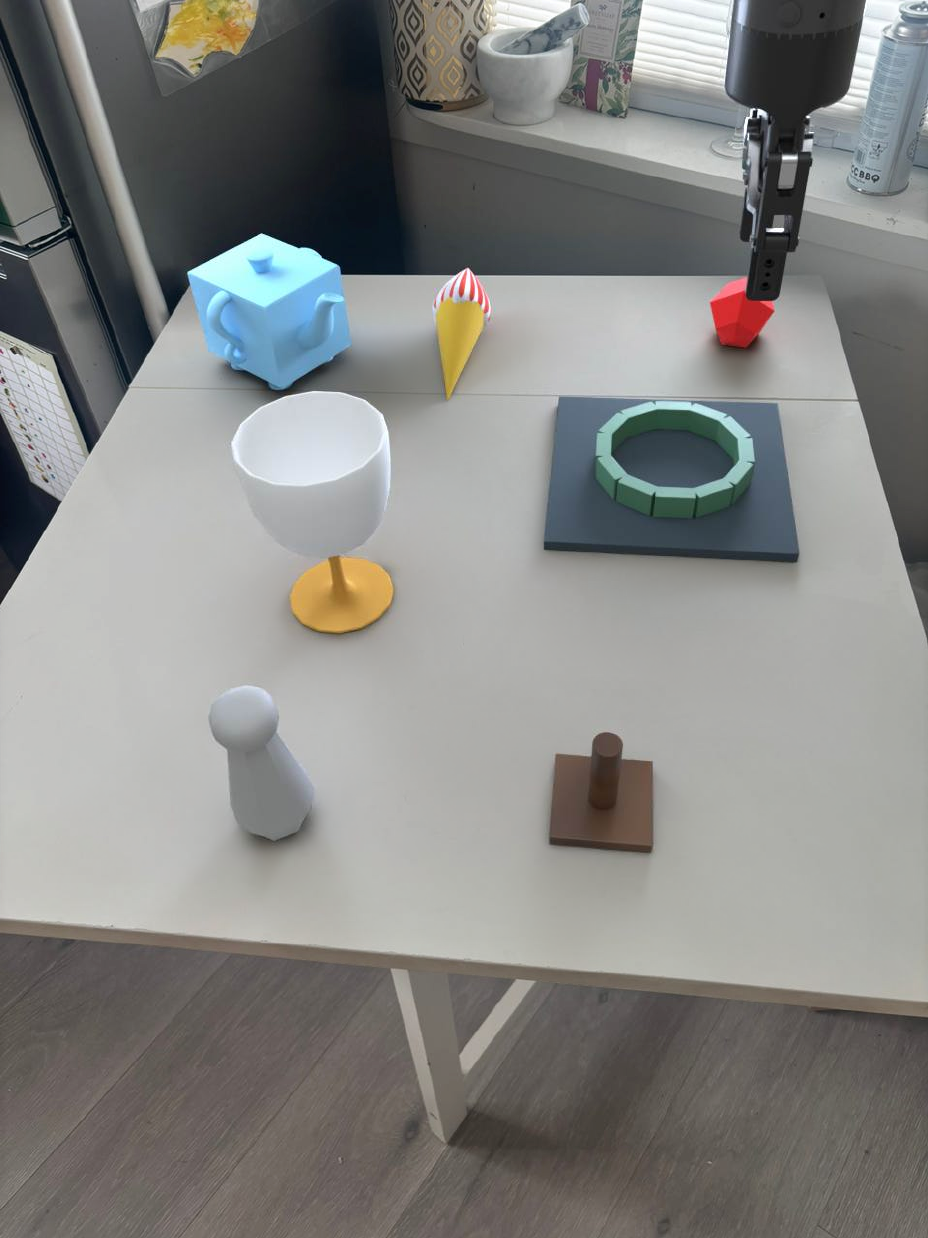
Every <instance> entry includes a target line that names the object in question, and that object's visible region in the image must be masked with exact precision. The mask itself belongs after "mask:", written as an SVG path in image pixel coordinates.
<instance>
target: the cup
mask: <svg viewBox="0 0 928 1238" xmlns="http://www.w3.org/2000/svg"><path fill="white" fill-rule="evenodd" d="M230 445H231V454H232V460H233V464H234V467H235V471H236V473H237V476H238V479H239V482H240V485H241V489H242V490H243V493H244V495H245V497H246V499H247V502H248V503H249V506H250V508H251V511H252V512H253V515H254V517H256V519H257V520H258V521H257V522H259V523H260V525H261V526H262V528H263V530H265V532H266V533H267V534H268V535H269V536H270V537H271V538H272V539H273V540H274V541H275V542H276V543H277V544H279V545H280V546H282V547H283V548H285V549H286V550H288V551H290V552H292V553H295V554H297V555H300V556H302V557H305V558H321V559H328V560H324V561H322V562H319V563H318V564H316V565H315V566H312V567H311V568H308V569H307V570H305V572H303V574H302V575H300V576H299V578H298V579H297V580H296V581H295V582H294V584H293V587H292V590H291V593H290V595H289V603H290V608H291V612H292V614H293V615H294V617H296V619H297V620H298V621H299V622H300V623H301V624H302V625H303V626H305V627H307V628H309V629H312V630H314V631H316V632H319V633H327V634H344V633H349V632H353V631H358V630H362V629H364V628H365V627H368V626H369V625H370V624H373V623H374V622H376V621H377V620H379V619H380V618H381V617H382V615H383V614H384V613H385V612H387V610H388V609H389V607H390V606H391V603H392V600H393V596H394V592H395V589H394V586H393V581H392V579H391V576H390V574H389V573H388V572H387V571H386V570H384V569H383V567H382V566H380V564H378V563H375V562H372V561H370V560H367V559H364V558H357V557H341V556H342V555H346V554H347V553H349V552H351V551H353V550H355V549H357V548H359V547H361V546H362V545H364V544H365V542H366V541H367V540H368V539H369V538H370V537H371V536H372V535H373V534H374V533H375V531H376V530H377V529H378V527H379V526H380V524H382V522H383V518H384V514H385V511H386V509H387V504H388V499H389V495H390V491H391V465H392V464H391V463H392V462H391V460H392V459H391V448H390V434H389V429H388V427H387V424H386V421H385V418H384V415H383V413H381V412H380V411H379V410H378V409H377V408H376V407H375V406H373V405H372V404H370V402H368V401H367V400H365V399H364V398H361V397H357V396H354V395H351V394H348V393H345V392H341V391H323V390H322V391H319V390H313V391H306V392H300V393H296V394H291V395H285V396H283V397H281V398H278V399H276V400H274V401H271V402H269V403H267V404H265V405H262V406H260V407H258V408H257V409H256V410H255V411H254V412H253V413H251V414H250V415H249V416H248V417H246V418H245V419H244V420H243V421H242V422H241V423H240V425H239V426H238V428H237V430H236V432H235V434H234V437H233V439H231V442H230Z"/></svg>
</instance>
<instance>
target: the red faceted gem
mask: <svg viewBox="0 0 928 1238" xmlns="http://www.w3.org/2000/svg"><path fill="white" fill-rule="evenodd" d="M746 281H747V276H746V277H743V278H740V279H737V280H734V281H731V282H729V283H727V284H726V285H724V287H723V288H721V290H720V291H719V292H718V293H717V294H716V295H715V296H714V297H713V298H712V299H711V300H710V301H709V304H710V310H711V313H712V319H713V324H714V328H715V331H716V333H717V336H718V339H719V341H720V344H721V345H722V346H723V345H724V346H729V347H736V348H742V349H743V348H744V349H747V348H748V346H749V345H751V343H752V342H753V341H754V339H756V337H757V336H758V335H759V334H760V333H761V331H762V330H763V328H764V327H765V326H766V324H767V323H768V321H769V320H770V319H771V317H772V316H773V314H774V313H775V308H774V303H773V301H750V300H748V299H747V298H746V293H745V288H746Z"/></svg>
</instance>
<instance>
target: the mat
mask: <svg viewBox="0 0 928 1238" xmlns="http://www.w3.org/2000/svg"><path fill="white" fill-rule="evenodd" d="M655 401H668V402H691V407H692V406H693V404H694V403H696V404H699V405H702V406H705V407H708V408H710V409H713V410H716V411H719V412H721V413H724V414H727V417H729V416H731V417H732V418H733V419H734V420H735V421H736V422H737V423H738V424H739V425H740V426H741V427H742V428H743V429H744V430H745V431H746V432H747V433H748V434H749V435H750V436H751V438H752V440H753V449H754V458H755V464H754V469H753V474H752V478H751V482H750V485H749V486H748V487H747V488H746V489H745V491H744V492H743V493H742V494H741V495H740V496H739V498H738V499H737V500H736V501H735V502H734V504H733V505H731V504H730V506H729V507H727V508H724V509H721V510H719V511H716V512H713V513H710V514H707V515H704V516H701V517H698V518H696V517H695V516H694V515H693V518H692V519H690V518H668V517H653V512H652V513H651V514H650V515H649V516H648V515H646V514H644V513H641V512H639V511H637V510H634V509H632V508H630V507H627V506H625V505H623V504H620V503H618V502H616V499H612V497H611V496H610V495H609V494H608V493H607V491H606V490H605V489H604V488H603V486H602V485H601V484H600V483H599V482H598V480H597V479H596V476H595V458H596V441H597V433H598V431H599V430H600V429H601V428H602V427H603V426H604V425H605V424H606V423H607V422H608V421H609V420H610V419H611V418H612V417H613V416H614V415H615V414H616V413H620V411H622V410H625V409H628V408H632V407H635V406H638V405H642V404H645V403H648V402H652V403H653V404H654V405H655ZM779 409H780V408H779V404H778V402H776V403H775V402H749V401H719V400H718V401H717V400H716V401H715V400H683V399H659V398H658V399H657V398H656V399H654V398H621V397H590V396H563V395H562V396H558V401H557V412H556V420H555V421H556V422H555V429H554V430H555V431H554V432H555V433H554V441H553V451H552V459H551V469H550V478H549V488H548V498H547V505H546V506H547V507H546V517H545V525H544V536H543V550H547V551H570V552H587V553H588V552H589V553H591V552H592V553H608V554H630V555H647V556H648V555H650V556H668V557H669V556H670V557H690V558H708V559H709V558H710V559H727V560H729V559H730V560H748V561H768V562H769V561H771V562H786V563H787V562H788V563H798V560H799V557H800V549H799V543H798V542H799V541H798V535H797V528H796V521H795V513H794V507H793V499H792V493H791V486H790V480H789V474H788V473H789V472H788V466H787V459H786V458H787V457H786V451H785V445H784V444H785V443H784V438H783V429H782V424H781V417H780V410H779ZM611 456H612V457H613V459H614V460H615V461H616V462H617V463H618V464H619V466H620V467H621V468H622V469H623V470H624V471H625V473H626V474H627V475H630V476H632V477H635V478H637V479H640V480H642V481H644V482H647V483H649V484H652V485H654V486H657V487H674V488H696V487H699V486H702V485H705V484H708V483H711V482H714V481H717V480H720V479H723V478H724V477H725V476H726V475H727V474H728V473H729V472H730V470H731V469H732V468H733V467H734V459H733V458H732V457H731V456H730V455H729V454H728V453H727V452H726V451H725V450H724V449H723V448H722V447H721V446H720V445H719V444H718V443H717V442H716V441H714V440H712V439H709V438H706V437H704V436H701V435H698V434H696V433H693V432H690V431H688V430H668V429H654V430H650V431H647V432H644V433H641V434H638V435H634V436H631V437H628V438H626V439H625V440H624V441H623V442H622V443H621V444H620V445H619V446H618V447H617V448H616V449H615V450H614V451H613V452H612V453H611Z"/></svg>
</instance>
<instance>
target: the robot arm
mask: <svg viewBox="0 0 928 1238" xmlns="http://www.w3.org/2000/svg"><path fill="white" fill-rule="evenodd" d="M867 4H868V0H733V1H732V8H731V9H732V10H731V17H730V26H729V33H728V34H729V36H728V44H727V52H726V61H725V69H724V78H723V79H724V80H723V89H724V92H725V94H726V96H728V98H729V99H730V100H731V101H732V102H734V103H736V104H738V105H739V106H741V107H743V108H746V109H749V110H750V113H749V117H746V119H745V123H744V127H743V128H744V129H743V130H744V132H743V148H742V155H741V157H742V160H741V169H742V170H744V172H743V173H742V181H743V185H744V186H745V187H744V188H745V189H744V195H743V201H742V209H741V217H740V223H739V232H738V233H739V239H740V240H741V241H742V242H744V243H750V245H751V246H750V255H749V262H748V268H747V275H746V277H747V281H746V288H745V293H746V298H747V299H748V300H750V301H772V302H774V301H776V300H777V299H778V298H779V297H780V294H781V289H782V283H783V278H784V272H785V266H786V260H787V255H788V253H795V252H796V251H797V250H796V249H797V247H799V242H800V237H799V233H800V227H801V223H802V218H803V217H802V216H803V210H804V204H805V199H806V193H807V188H808V182H809V176H810V171H811V168H812V166H813V162H814V159H813V157H812V156H813V153H814V141H815V140H814V139H815V135H814V133H815V132H810V127H811V117H810V116H809V115H810V114H811V113H813V112H815V111H818V110H819V109H821V108H822V109H825V108H828V107H829V108H830V107H831V106H833V105H836V104H837V103H838V102H840V101H841V100H843V99H844V97H845V96H846V95H847V94H848V92H849V90H850V88H851V83H852V79H853V73H854V69H855V63H856V58H857V53H858V49H859V43H860V38H861V34H862V28H863V23H864V19H865V14H866V13H865V12H866V9H867ZM746 186H747V187H746ZM775 216H784V220H783V228H773V227H774V226H773V225H774V220H775Z"/></svg>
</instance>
